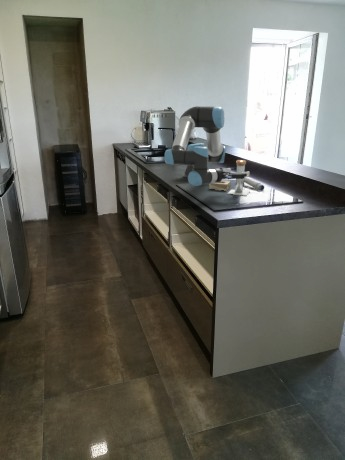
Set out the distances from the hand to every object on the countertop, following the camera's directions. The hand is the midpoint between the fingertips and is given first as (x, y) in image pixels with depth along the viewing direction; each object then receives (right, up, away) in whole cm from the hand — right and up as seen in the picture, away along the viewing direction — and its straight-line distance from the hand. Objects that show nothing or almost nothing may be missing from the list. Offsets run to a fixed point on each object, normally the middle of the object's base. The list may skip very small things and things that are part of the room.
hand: (239, 172), depth 198 cm
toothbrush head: (+11, -6, +23) cm, 26 cm away
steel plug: (+1, -11, +5) cm, 12 cm away
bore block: (-9, -7, +16) cm, 20 cm away
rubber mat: (+1, -11, +5) cm, 12 cm away
